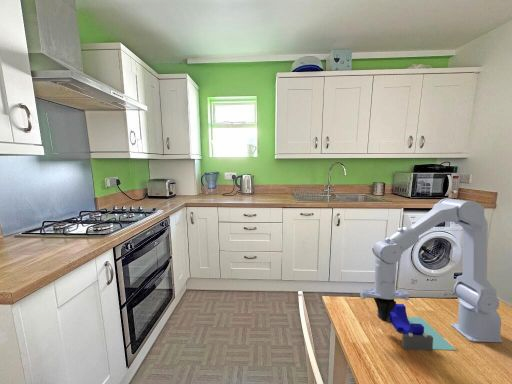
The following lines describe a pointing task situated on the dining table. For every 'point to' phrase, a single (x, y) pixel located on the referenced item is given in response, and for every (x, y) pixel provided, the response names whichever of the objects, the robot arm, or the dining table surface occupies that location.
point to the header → (416, 341)
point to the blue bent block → (404, 321)
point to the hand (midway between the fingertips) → (383, 319)
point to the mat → (432, 334)
